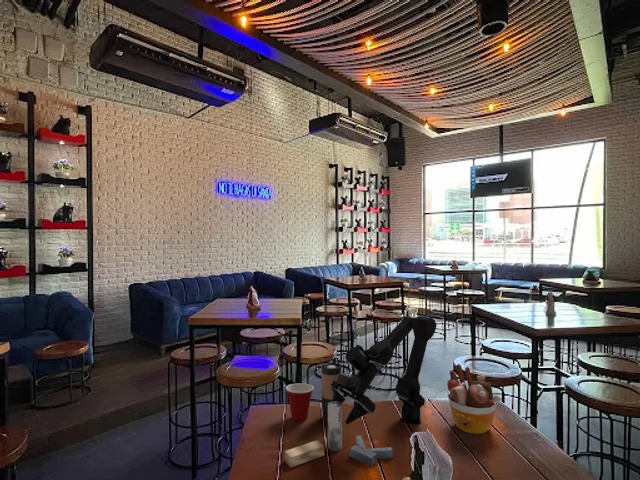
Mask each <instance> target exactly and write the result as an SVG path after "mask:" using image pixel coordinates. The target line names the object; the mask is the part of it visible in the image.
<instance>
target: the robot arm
mask: <svg viewBox="0 0 640 480" xmlns="http://www.w3.org/2000/svg"><path fill="white" fill-rule="evenodd" d="M436 330H437V322H436V320H435V319H434V318H433V317H429V316H423V315H418V316H416V317H414V316H411V315H410V316H409V315H406V316H405V315H404V316H403V317H402V319H401V321H400V322H398V324H397V325H396V326H395V327H394V328H393V329H392V330H391V331H390V333H389V334H387V336H385V338H383V339H382V340H380V341H376V342H375V343H374V344H373V345H371V346H370V347H369V348H368V349H364V347H363V346H362V345H360V344H356V345H355V346H353V347H352V348H350V349H348V350H347V351H346V353H345V360H346V361H347V362H348V363H349V364H350V366H351V367H352V368H353V369H355V370H356V371H357V372H356V374H355V373H353V374H351V376H349V375H347V374H344V373H342V372H341V373H339V376H338V379H337V380H335V381H333V382H332V384H331V387H332V390H333V399H332V401H337V402H340V403H341V404H342V405H343V403H344V402H345V401H346V397H349V398H350V399H353V408H352V409H351V411H350V413H349V414H348V416H347V417H346V418H345V419H346V420H345V422H344V423H345V424H346V425H349V424H351V423H353V422H354V421H356V420H358V419H359V418H361V417H363V416H365V415H369V414H370V413H371V414H373V413H374V412H375V410H377V409H376V403H375V402H373V401H372V399H371V398H370V397H368V396H367V395H365V393H366V391H367V390H369V391H370V390H371V389H372V386H371V384H372V382H373V381H374V379H375V378H376V376H377V375H379V376H383V371H382V367H381V366H386V365H388V363H389V362H390V361H391V360H392V358H393V357H394V353H395V350H396V348H397V347H398V346H399V345H400V344H401V342H403V340H405V338H406V337H407V336H408V335H409V334H410V333H411V331H412V332H413V336H414V339H413V343H412V346H411V351H410V354H409V358H408V363H407V366H406V369H405V373H404V375H402V377H401V376H399V377H398V378H397V382H396V385H395V394H396V395H397V397H398V401H400V402H402V404H401V405H400V409H401V410H400V414H401V416H400V417H401V419H402V422H403V423H410V424H411V423H412V424H422V421H421V408H423V407H424V405H425V402H426V399H425V398H424V397H423V396H422V394H420V393H421V385H420V379H419V377H420V373H421V369H422V365H423V361H424V357H425V353H426V349H427V345H428V342H429V341H430V340H431V338H432V337H434V335H435V332H436ZM379 365H380V366H379Z"/></svg>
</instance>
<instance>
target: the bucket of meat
mask: <svg viewBox="0 0 640 480" xmlns="http://www.w3.org/2000/svg"><path fill="white" fill-rule="evenodd" d="M455 368H456V372H457V374H456V372H455V371H454V370H450V371H449V376H450V379H448V381H447V390H448V391H449V393H448V394H447V398H448V401H449V406H450V410H451V415H452V419H453V422H454V425H456V427H457V428H458V429H459V430H460V429H461V430H460V431H462V432H464V433H466V432H467V433H466V434H472V435H483V434H484V435H485V434H486V433H487V432H488V431H489V430H490V429H491V428H492V423H493V420H494V416H495V411H496V407H497V401H498V402H499V401H501V400H502V397H500V396H499V395H497V394H493V392H494V391H493V388H492V382H488V381H485V379H487V377H486V375H484V374H480V375H477V377H476V379H477V380H473V378H472V373H471V368H470V367H468V366H466V367H465V368H464V371H465V375H464V372H463V368H462V365H461V364H459V363H457V364H456V367H455ZM457 375H458V377H457ZM465 376H466V380H465ZM466 381H467V384H466ZM467 387H468V388H467Z"/></svg>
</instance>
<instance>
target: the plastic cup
mask: <svg viewBox="0 0 640 480" xmlns="http://www.w3.org/2000/svg"><path fill="white" fill-rule="evenodd" d="M285 390H286V393H287V396H288V403H289V409H290V416H291V419H292V420H293V421H294V422H300V423H301V422H305V421H306V420H308V417H309V416H308V415H309V409H310V404H311V399H312V394H313V391H314V386H313V385H312V384H309V383H291V384H288V385H286V386H285Z"/></svg>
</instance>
